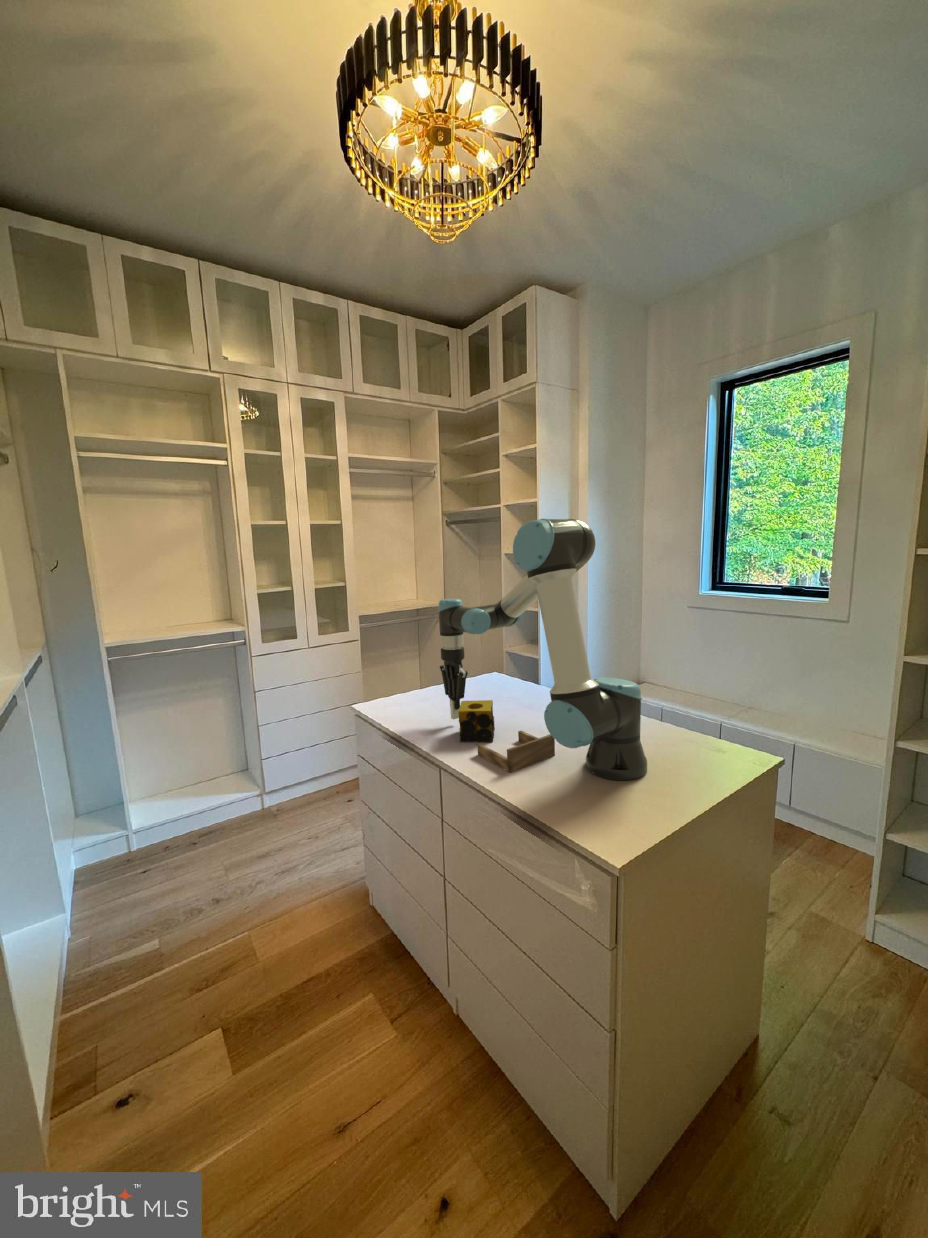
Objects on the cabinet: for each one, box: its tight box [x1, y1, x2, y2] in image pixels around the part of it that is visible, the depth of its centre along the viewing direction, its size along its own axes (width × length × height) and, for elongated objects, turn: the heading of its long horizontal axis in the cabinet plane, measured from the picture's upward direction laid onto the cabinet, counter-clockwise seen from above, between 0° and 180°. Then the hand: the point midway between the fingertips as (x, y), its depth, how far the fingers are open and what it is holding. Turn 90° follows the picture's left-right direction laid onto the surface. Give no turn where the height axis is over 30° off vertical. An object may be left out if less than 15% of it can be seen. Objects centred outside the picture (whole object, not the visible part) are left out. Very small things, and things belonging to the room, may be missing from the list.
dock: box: [477, 730, 556, 773], centre depth 137 cm, size 14×16×6 cm
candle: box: [458, 699, 496, 743], centre depth 152 cm, size 10×10×10 cm
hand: (455, 717), depth 162 cm, fingers closed
